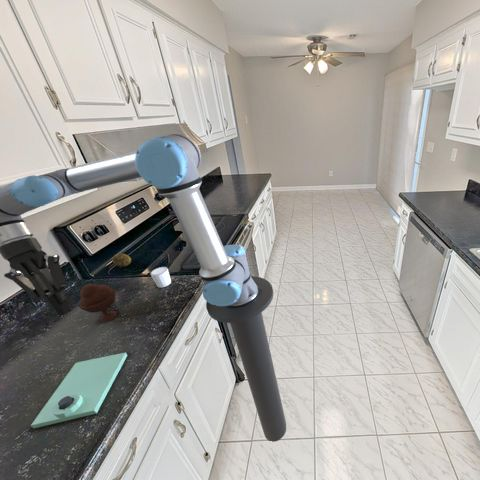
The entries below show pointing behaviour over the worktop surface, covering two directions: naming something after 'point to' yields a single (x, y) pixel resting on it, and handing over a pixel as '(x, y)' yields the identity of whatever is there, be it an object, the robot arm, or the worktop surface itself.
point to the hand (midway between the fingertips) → (65, 313)
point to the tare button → (65, 402)
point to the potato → (121, 260)
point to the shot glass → (161, 276)
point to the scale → (82, 390)
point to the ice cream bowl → (98, 300)
